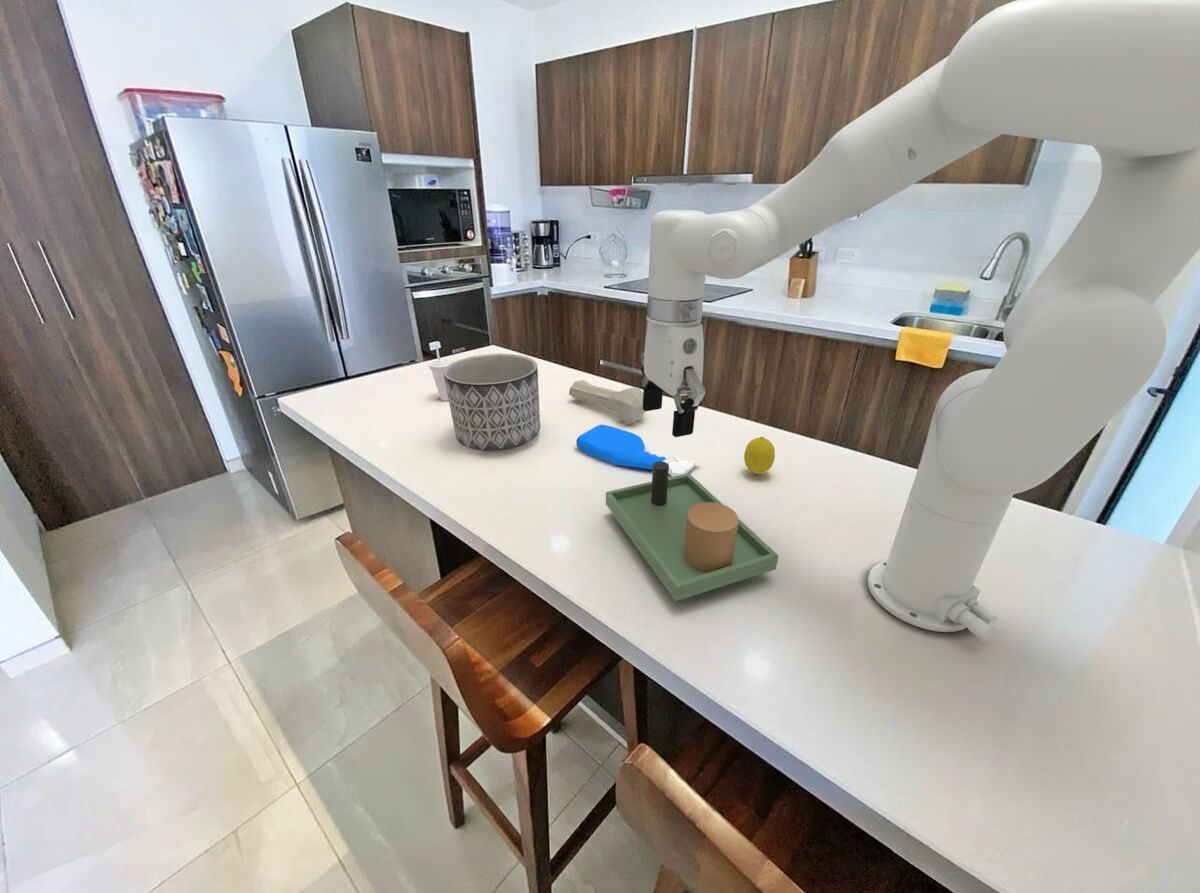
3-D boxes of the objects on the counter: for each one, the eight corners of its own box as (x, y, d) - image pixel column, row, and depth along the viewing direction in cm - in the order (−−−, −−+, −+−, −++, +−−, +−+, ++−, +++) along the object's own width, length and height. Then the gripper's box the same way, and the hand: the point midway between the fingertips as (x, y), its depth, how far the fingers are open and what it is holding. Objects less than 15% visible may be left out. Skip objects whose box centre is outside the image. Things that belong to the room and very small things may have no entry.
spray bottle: (571, 438, 104) (674, 476, 91) (603, 420, 112) (701, 453, 98) (572, 451, 105) (672, 490, 92) (603, 432, 113) (700, 466, 100)
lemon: (772, 482, 93) (779, 445, 90) (742, 480, 94) (747, 442, 91) (770, 468, 98) (776, 431, 94) (741, 465, 99) (746, 429, 95)
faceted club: (629, 428, 112) (556, 404, 129) (652, 426, 119) (580, 403, 135) (635, 390, 110) (561, 370, 126) (658, 390, 116) (584, 371, 133)
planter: (438, 453, 105) (424, 380, 97) (479, 416, 122) (470, 351, 114) (523, 463, 101) (516, 387, 93) (553, 423, 117) (549, 356, 110)
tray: (776, 569, 70) (785, 523, 66) (675, 601, 64) (679, 553, 61) (687, 484, 89) (691, 445, 86) (605, 504, 84) (605, 463, 81)
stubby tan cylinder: (742, 565, 69) (748, 524, 66) (700, 578, 67) (704, 536, 64) (715, 536, 75) (719, 497, 71) (675, 548, 72) (678, 508, 69)
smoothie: (434, 395, 135) (425, 344, 128) (459, 392, 136) (451, 342, 130) (435, 403, 129) (425, 351, 123) (460, 400, 131) (452, 348, 124)
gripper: (734, 321, 63) (718, 441, 71) (668, 295, 77) (661, 398, 85) (682, 327, 60) (672, 451, 68) (624, 298, 74) (621, 404, 82)
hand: (666, 421), depth 77 cm, fingers open, 9 cm apart
